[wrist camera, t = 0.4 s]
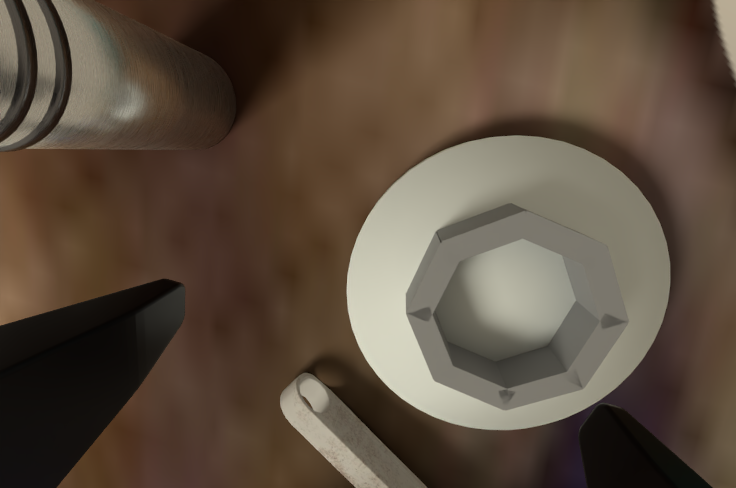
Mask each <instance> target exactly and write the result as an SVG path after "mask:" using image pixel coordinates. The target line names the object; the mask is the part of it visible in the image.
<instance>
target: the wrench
mask: <svg viewBox="0 0 736 488" xmlns="http://www.w3.org/2000/svg"><path fill="white" fill-rule="evenodd" d="M302 396H304V397H306V398H307V400H308V401H309V402H310V403H311V405H312V407H313V409H312V408H310V407H309V406H308V405H307V403H306V402H305V401H304V400H303V397H302ZM280 405H281V409H282V411H283V413H284V415H285V417H286V419H287V420H288V421H289V422H290V423H291V425H292V426H294V427H295V428H296V429H297V430H298V431H299V432H300V433H301V434H302V435H303V436H304V437H305V438H306V439H307V440H308V441H309V442H310V443H311V444H312V445H313V446H314V447H315V448H316V449H317V450H318V451H319V452H320V453H321V454H322V455H323V456H324V457H325V458H326V459H327V460H328V461H329V462H330V463H331V464H332V465H333V466H334V467H335V468H336V469H337V470H338V471H339V472H340V473H341V474H342V475H343V476H344V477H345V478H346V479H347V480H348V481H349V482H350V483H351V484H352V485H353V486H354V487H356V488H427V487H426V486H425V485H424V484H423V483H422V482H421V481H420V480H419V479H418V478H417V477H416V476H415V475H414V474H413V473H412V472H411V471H410V470H409V469H408V468H407V467H406V466H405V465H404V464H403V463H402V462H401V461H400V460H399V459H398V458H397V457H396V456H395V455H394V454H393V453H392V452H391V451H390V450H389V449H388V448H387V447H386V446H385V445H384V444H383V443H382V442H381V441H380V440H379V439H378V438H377V437H376V436H375V435H374V434H373V433H372V432H371V431H370V430H369V429H368V427H367V426H366V425H365V424H364V423H363V422H362V421H361V420H360V419H359V418H358V417H357V416H356V415H355V414H354V413H353V412H352V411H351V410H350V409H349V408H348V407H347V406H346V405H345V404H344V403H343V402H342V401H341V400H340V399H339V398H338V397H337V396H336V395H335V394H334V393H333V392H332V391H331V390H330V389H329V388H328V387H326V386H325V385H324V384H323V383H322V382H321V381H320V380H318V379H317V378H316V377H315V376H314V375H312V374H309V373H303V374H301V375H299V376H298V377H297V378H296V379H295V380H294V381H293V382H292V383H291V384H290V385H289V386H288V387H287V388H286V389H285V390H283V392H282V394H281V398H280Z"/></svg>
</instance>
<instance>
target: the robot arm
mask: <svg viewBox="0 0 736 488" xmlns="http://www.w3.org/2000/svg"><path fill="white" fill-rule="evenodd" d="M184 316H185V287H184V285H183V284H182V283H180V282H176V281H173V280H169V279H160V280H157V281H153V282H150V283H147V284H143V285H140V286H136V287H133V288H129V289H126V290H122V291H119V292H115V293H112V294H108V295H105V296H102V297H98V298H95V299H91V300H88V301H84V302H81V303H77V304H74V305H70V306H67V307H63V308H60V309H57V310H53V311H50V312H46V313H43V314H39V315H36V316H32V317H29V318H25V319H22V320H18V321H15V322H12V323H8V324H5V325H1V326H0V488H56V487H57V486H58V485H59V484H60V483H61V481H62V480H63V479H64V478H65V476H66V475H67V474H68V473H69V472H70V470H71V469H72V468H73V467H74V466H75V464H76V463H77V462H78V461H79V460H80V458H81V457H82V456H83V455H84V453H85V452H86V451H87V450H88V449H89V447H90V446H91V445H92V444H93V443H94V441H95V440H96V439H97V438H98V437H99V435H100V434H101V433H102V432H103V430H104V429H105V428H106V427H107V426H108V424H109V423H110V422H111V421H112V420H113V418H114V417H115V416H116V415H117V414H118V412H119V411H120V410H121V409H122V408H123V406H124V405H125V404H126V403H127V401H128V400H129V399H130V398H131V397H132V395H133V394H134V393H135V392H136V390H137V389H138V388H139V386H140V385H141V384H142V382H143V381H144V379H145V378H146V377H147V375H148V374H149V372H150V371H151V369H152V368H153V366H154V365H155V363H156V362H157V360H158V359H159V357H160V356H161V354H162V353H163V351H164V350H165V348H166V347H167V345H168V344H169V342H170V341H171V339H172V338H173V336H174V335H175V333H176V332H177V330H178V329H179V327H180V326H181V324H182V322H183V319H184ZM579 445H580V450H581V456H582V461H583V467H584V472H585V478H586V483H587V488H713V487H711V486H710V485H709V484H708V483H707V482H706V481H705V480H704V479H702V478H701V477H700V476H699V475H698V474H697V473H696V472H695V471H693V470H692V469H691V468H690V467H689V466H688V465H687V464H685V463H684V462H683V461H682V460H681V459H680V458H679V457H678V456H676V455H675V454H674V453H673V452H672V451H671V450H670V449H669V448H667V447H666V446H665V445H664V444H663V443H662V442H661V441H659V440H658V439H657V438H656V437H655V436H654V435H653V434H652V433H650V432H649V431H648V430H647V429H646V428H645V427H644V426H643V425H641V424H640V423H639V422H638V421H637V420H636V419H635V418H633V417H632V416H631V415H630V414H629V413H628V412H627V411H625V410H624V409H622V408H620V407H617V406H614V405H610V404H607V403H600V404H598V405H597V406H596V407H595V408H594V409H593V411H592V412H591V414H590V415H589V416H588V418H587V419H586V420H585V422H584V423H583V424H582V426H581V427H580V430H579Z"/></svg>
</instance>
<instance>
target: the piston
mask: <svg viewBox="0 0 736 488" xmlns="http://www.w3.org/2000/svg"><path fill="white" fill-rule="evenodd" d="M235 115H236V97H235V92H234V88H233V86H232V83H231V81H230V79H229V77H228V75H227V74H226V72H225V71H224V70H223V68H222V67H221V66H220V65H219V64H218V63H217V62H215V61H214V60H213V59H211V58H210V57H208V56H206V55H204V54H202V53H200V52H198V51H196V50H194V49H192V48H190V47H188V46H186V45H184V44H182V43H180V42H178V41H176V40H174V39H172V38H170V37H168V36H165V35H163V34H161V33H159V32H157V31H155V30H153V29H151V28H149V27H147V26H145V25H143V24H141V23H139V22H137V21H135V20H133V19H131V18H129V17H127V16H125V15H122V14H120V13H118V12H116V11H114V10H112V9H110V8H108V7H106V6H104V5H102V4H100V3H98V2H96V1H94V0H0V152H9V151H17V150H21V149H152V150H201V149H206V148H209V147H212V146H214V145H216V144H218V143H219V142H220V141H221V140H223V138H224V137H225V136H226V135H227V134H228V132H229V131H230V129H231V127H232V125H233V122H234V119H235Z"/></svg>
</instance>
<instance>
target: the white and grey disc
mask: <svg viewBox="0 0 736 488" xmlns="http://www.w3.org/2000/svg"><path fill="white" fill-rule="evenodd" d="M669 290H670V259H669V253H668V247H667V242H666V239H665V236H664V233H663V230H662V227H661V224H660V222H659V220H658V218H657V216H656V214H655V212H654V211H653V209H652V207H651V205H650V203H649V202H648V201H647V199H646V198H645V197H644V195H643V194H642V193H641V191H640V190H639V189H638V187H637V186H636V185H635V184H634V183H633V182H632V181H631V180H630V179H629V178H627V177H626V176H625V175H624V174H623V173H622V172H621V171H620V170H618V169H617V168H616V167H614V166H613V165H611V164H610V163H609V162H607V161H606V160H605V159H603V158H601V157H599V156H597V155H595V154H593V153H591V152H589V151H587V150H585V149H583V148H580V147H577V146H574V145H572V144H569V143H566V142H563V141H558V140H553V139H548V138H543V137H535V136H519V135H514V136H500V137H490V138H484V139H479V140H474V141H469V142H465V143H462V144H459V145H456V146H453V147H450V148H447V149H444V150H442V151H440V152H438V153H436V154H434V155H432V156H430V157H428V158H426V159H424V160H423V161H421V162H420V163H418V164H417V165H415V166H414V167H412V168H411V169H409V170H408V171H407V172H406V173H405V174H403V175H402V176H401V177H400V178H399V179H398V180H396V181H395V182H394V183H393V184H392V185H391V186H390V187H389V189H388V190H387V191H386V192H385V193H384V194H383V195H382V196H381V198H380V199H379V200H378V202H377V203H376V205H375V206H374V208H373V209H372V211H371V212H370V214H369V215H368V217H367V219H366V221H365V223H364V225H363V227H362V229H361V231H360V233H359V235H358V237H357V240H356V243H355V246H354V249H353V252H352V255H351V259H350V265H349V270H348V277H347V302H348V312H349V316H350V321H351V325H352V329H353V332H354V335H355V337H356V340H357V343H358V345H359V347H360V349H361V351H362V353H363V354H364V356H365V358H366V360H367V362H368V363H369V364H370V366H371V367H372V369H373V370H374V371H375V373H376V374H377V375H378V376H379V378H380V379H381V380H382V381H383V382H384V383H385V384H386V385H387V386H388V387H389V388H390V389H391V390H392V391H393V392H395V393H396V394H397V395H398V396H399V397H401V398H402V399H403V400H405V401H406V402H408V403H409V404H411V405H412V406H414V407H416V408H417V409H419V410H421V411H423V412H425V413H427V414H429V415H431V416H433V417H435V418H438V419H441V420H444V421H447V422H449V423H452V424H457V425H461V426H465V427H470V428H477V429H486V430H514V429H524V428H530V427H535V426H540V425H545V424H548V423H552V422H555V421H558V420H561V419H564V418H566V417H569V416H571V415H573V414H575V413H578V412H580V411H582V410H584V409H586V408H587V407H589V406H591V405H592V404H594V403H596V402H598V401H599V400H601V399H602V398H603V397H605V396H606V395H607V394H609V393H610V392H611V391H613V390H614V389H615V388H617V387H618V386H619V385H620V384H621V383H622V382H623V381H624V380H625V379H626V378H627V377H628V376H629V375H630V374H631V373H632V372H633V370H634V369H635V368H636V367H637V365H638V364H639V363H640V362H641V361H642V359H643V358H644V356H645V355H646V353H647V352H648V350H649V348H650V347H651V345H652V343H653V342H654V340H655V338H656V335H657V333H658V331H659V329H660V326H661V324H662V322H663V318H664V315H665V311H666V308H667V304H668V298H669Z"/></svg>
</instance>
